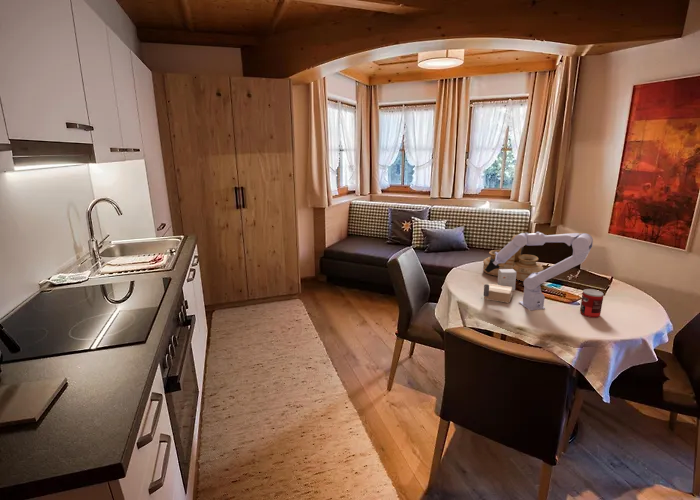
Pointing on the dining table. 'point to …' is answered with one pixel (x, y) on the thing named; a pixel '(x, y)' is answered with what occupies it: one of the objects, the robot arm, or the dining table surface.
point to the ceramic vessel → (516, 264)
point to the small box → (507, 278)
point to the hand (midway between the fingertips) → (489, 268)
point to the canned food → (591, 303)
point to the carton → (501, 289)
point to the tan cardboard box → (495, 295)
